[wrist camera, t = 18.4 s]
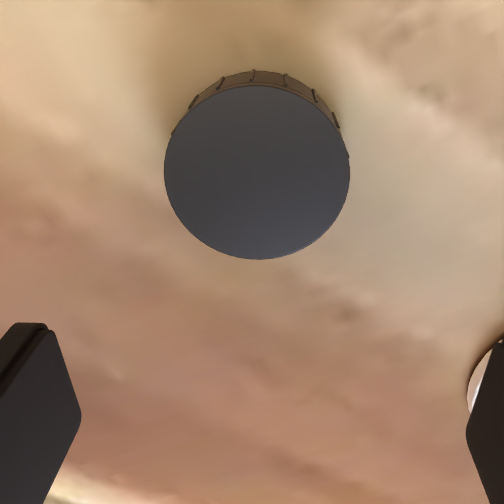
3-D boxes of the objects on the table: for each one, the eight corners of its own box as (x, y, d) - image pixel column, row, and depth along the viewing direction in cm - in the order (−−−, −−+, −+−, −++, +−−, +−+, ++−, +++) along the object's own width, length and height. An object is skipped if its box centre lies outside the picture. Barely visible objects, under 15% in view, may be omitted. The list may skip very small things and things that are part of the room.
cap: (188, 233, 23) (177, 263, 20) (163, 73, 19) (146, 88, 16) (338, 229, 22) (345, 259, 20) (346, 63, 18) (357, 77, 16)
